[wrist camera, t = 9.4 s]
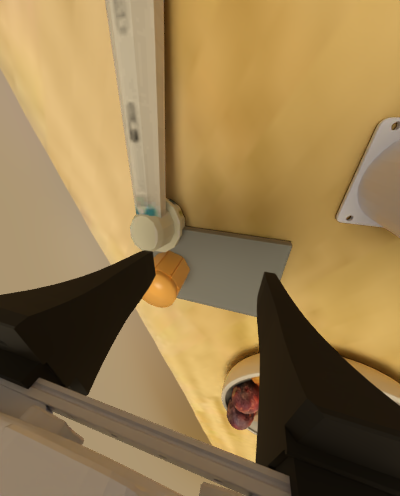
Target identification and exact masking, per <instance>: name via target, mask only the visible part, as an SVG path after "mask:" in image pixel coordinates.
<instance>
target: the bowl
mask: <svg viewBox="0 0 400 496" xmlns="http://www.w3.org/2000/svg"><path fill="white" fill-rule="evenodd" d="M343 358H344V357H343ZM344 359H345V360H346V361H347V362H348V363H349V364H351V365H352V366H353V367H354V368H355V369H356V370H357V371H358V372H360V373H361V374H362V375H363V376H364V377H365V378H366V379H368V380H369V381H370V382H371V383H372V384H373V385H375V386H376V387H377V388H378V389H380V390H381V391H382V392H383V393H385V394H386V395H387V396H388V397H389V398H391V399H392V400H393V401H394V402H396V403H397V404H398V405H399V406H400V384H399V383H398V382H396V381H395V380H393V379H392V378H390V377H388V376H387V375H385V374H383V373H381V372H379V371H377V370H375V369H373V368H371V367H369V366H366V365H364V364H361V363H359V362H356V361H353V360H350V359H347V358H344ZM259 375H260V353H258V354H255V355H252V356H250V357H247V358H245V359H243V360H242V361H240V362H239V363H237V364H236V365H235V366H234V367H233V368H232V369H231V370H230V372H229V373H228V375H227V377H226V379H225V381H224V384H223V389H222V402H223V405H224V407H225V409H226V410H227V418H228V421H229V422H230V424H231V425H232V427H234V428H235V429H238V430H244V429H247V430H249V431H251V432H252V433H254V434H256V435H257V429H258V406H259Z"/></svg>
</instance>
